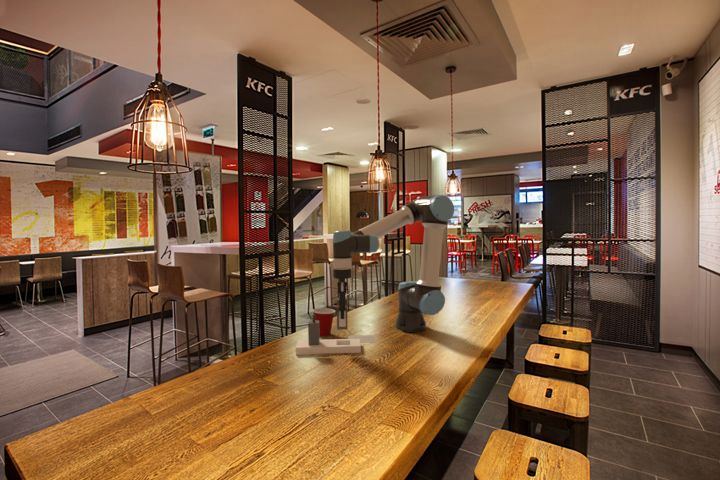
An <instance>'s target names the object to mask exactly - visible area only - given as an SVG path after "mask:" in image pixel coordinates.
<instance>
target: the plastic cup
mask: <svg viewBox="0 0 720 480" xmlns="http://www.w3.org/2000/svg"><path fill="white" fill-rule="evenodd" d="M312 313H313V314H315V320H319V331H320V337H328V336H330V335H331V333H332V327H333V321H334V316H335V313H337V310H335V309H333V308H327V307H326V308H323V307H322V308H320V307H319V308H318V307H317V308H314V309H312Z"/></svg>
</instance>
